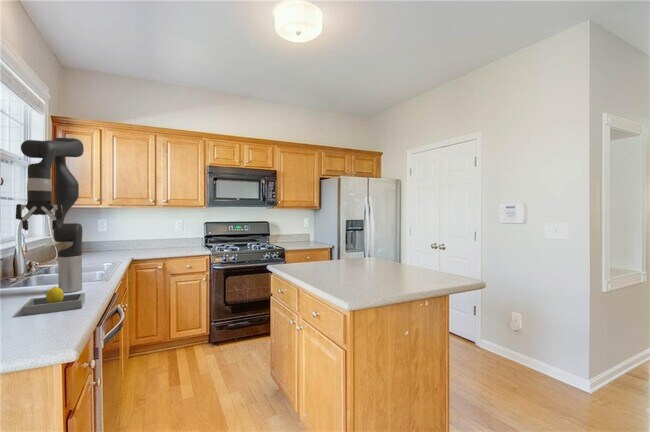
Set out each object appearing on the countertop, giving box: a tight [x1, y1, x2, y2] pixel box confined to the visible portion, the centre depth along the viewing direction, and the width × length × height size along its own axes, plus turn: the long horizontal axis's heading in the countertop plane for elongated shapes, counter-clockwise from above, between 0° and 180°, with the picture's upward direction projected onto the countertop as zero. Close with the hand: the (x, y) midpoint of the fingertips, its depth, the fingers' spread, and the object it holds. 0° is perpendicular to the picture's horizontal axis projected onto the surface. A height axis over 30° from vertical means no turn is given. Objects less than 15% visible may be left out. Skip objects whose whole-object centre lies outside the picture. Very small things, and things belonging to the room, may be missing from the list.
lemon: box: [45, 286, 65, 303], centre depth 132 cm, size 6×6×8 cm
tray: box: [21, 292, 86, 317], centre depth 132 cm, size 13×18×3 cm
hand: (40, 229), depth 131 cm, fingers open, 8 cm apart
